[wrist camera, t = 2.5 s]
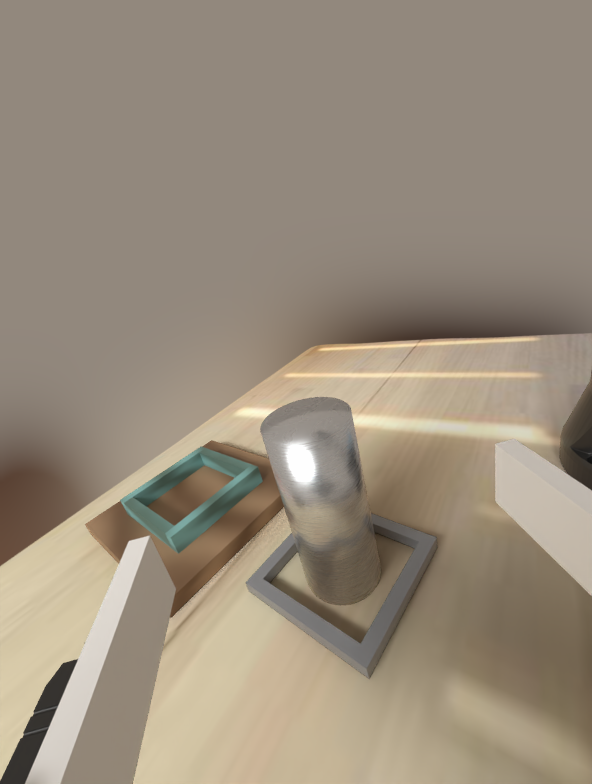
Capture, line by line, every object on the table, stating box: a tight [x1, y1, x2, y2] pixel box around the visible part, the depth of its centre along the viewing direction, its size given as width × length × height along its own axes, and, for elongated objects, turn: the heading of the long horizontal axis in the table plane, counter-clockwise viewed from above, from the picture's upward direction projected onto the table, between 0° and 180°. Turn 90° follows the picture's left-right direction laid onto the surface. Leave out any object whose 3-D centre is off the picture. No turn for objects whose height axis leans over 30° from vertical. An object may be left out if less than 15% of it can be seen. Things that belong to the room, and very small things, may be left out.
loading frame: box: [246, 513, 437, 678], centre depth 28 cm, size 11×11×1 cm
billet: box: [261, 397, 381, 605], centre depth 25 cm, size 6×6×14 cm
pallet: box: [85, 441, 284, 618], centre depth 39 cm, size 18×18×4 cm
